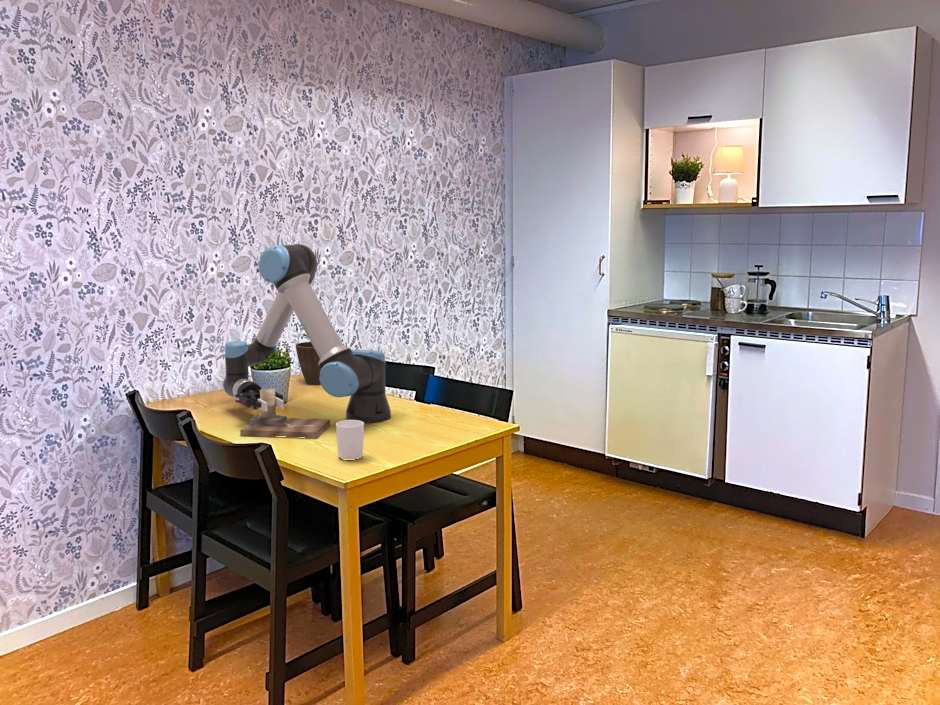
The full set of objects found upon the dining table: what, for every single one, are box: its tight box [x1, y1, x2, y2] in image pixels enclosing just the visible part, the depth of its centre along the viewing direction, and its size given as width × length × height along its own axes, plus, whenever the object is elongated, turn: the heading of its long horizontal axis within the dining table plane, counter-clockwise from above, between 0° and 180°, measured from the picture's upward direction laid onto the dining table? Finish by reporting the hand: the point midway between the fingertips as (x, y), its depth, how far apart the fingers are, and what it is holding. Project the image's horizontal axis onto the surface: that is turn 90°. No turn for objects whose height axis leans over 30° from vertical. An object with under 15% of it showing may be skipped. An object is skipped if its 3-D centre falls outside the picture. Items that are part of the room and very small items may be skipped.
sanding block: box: [249, 387, 288, 427], centre depth 255 cm, size 10×6×11 cm, turn 84°
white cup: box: [335, 419, 365, 459], centre depth 227 cm, size 8×8×10 cm
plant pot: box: [295, 341, 321, 386], centre depth 325 cm, size 15×15×16 cm
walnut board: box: [239, 417, 331, 439], centre depth 255 cm, size 24×16×2 cm, turn 84°
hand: (274, 406), depth 250 cm, fingers closed on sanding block, 5 cm apart
